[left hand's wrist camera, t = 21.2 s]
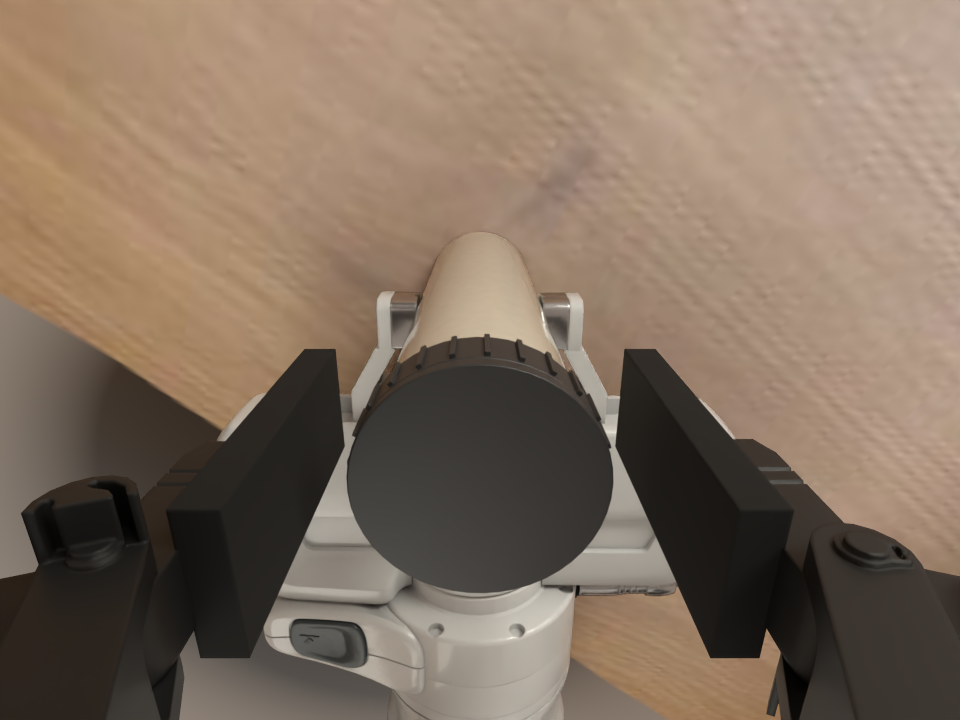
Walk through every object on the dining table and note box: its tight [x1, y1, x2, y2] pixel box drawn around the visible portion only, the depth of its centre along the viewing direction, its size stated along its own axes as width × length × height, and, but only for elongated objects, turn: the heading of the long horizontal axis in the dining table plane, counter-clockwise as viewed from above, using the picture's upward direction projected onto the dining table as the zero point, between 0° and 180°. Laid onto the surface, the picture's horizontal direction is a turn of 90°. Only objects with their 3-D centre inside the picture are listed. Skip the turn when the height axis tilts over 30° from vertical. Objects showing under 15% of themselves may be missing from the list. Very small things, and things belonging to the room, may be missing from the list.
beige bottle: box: [397, 232, 566, 369], centre depth 19 cm, size 5×5×17 cm
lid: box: [346, 334, 613, 593], centre depth 11 cm, size 5×5×2 cm
